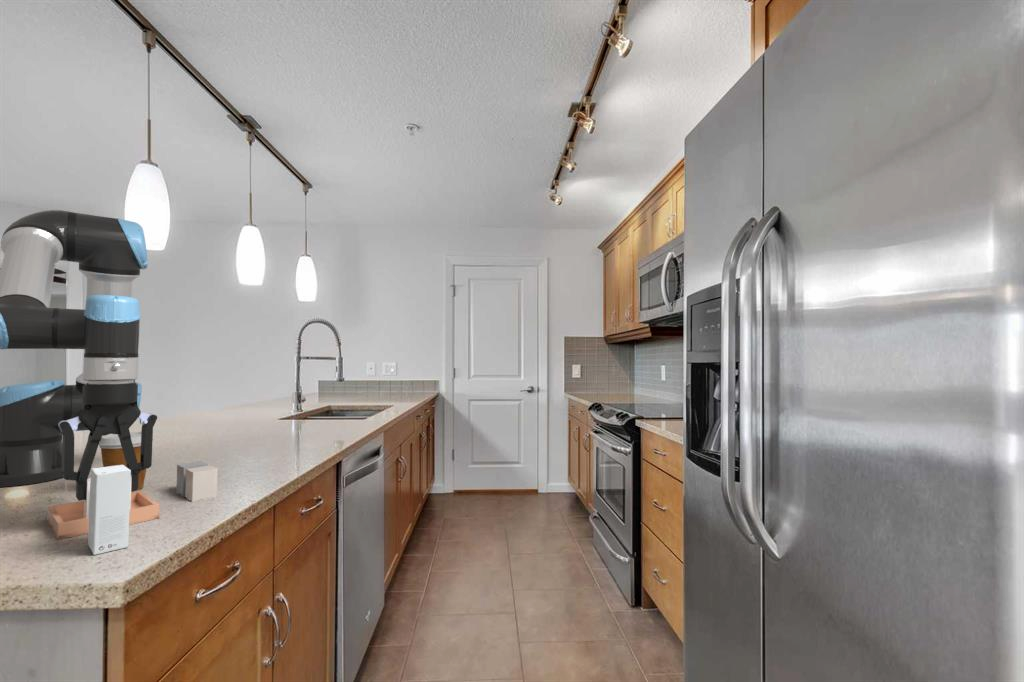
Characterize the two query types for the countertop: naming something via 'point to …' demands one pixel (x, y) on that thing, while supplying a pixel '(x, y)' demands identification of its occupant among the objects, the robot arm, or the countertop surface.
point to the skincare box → (109, 508)
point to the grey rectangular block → (182, 475)
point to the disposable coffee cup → (120, 452)
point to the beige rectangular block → (201, 482)
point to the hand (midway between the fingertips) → (107, 513)
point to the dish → (72, 522)
